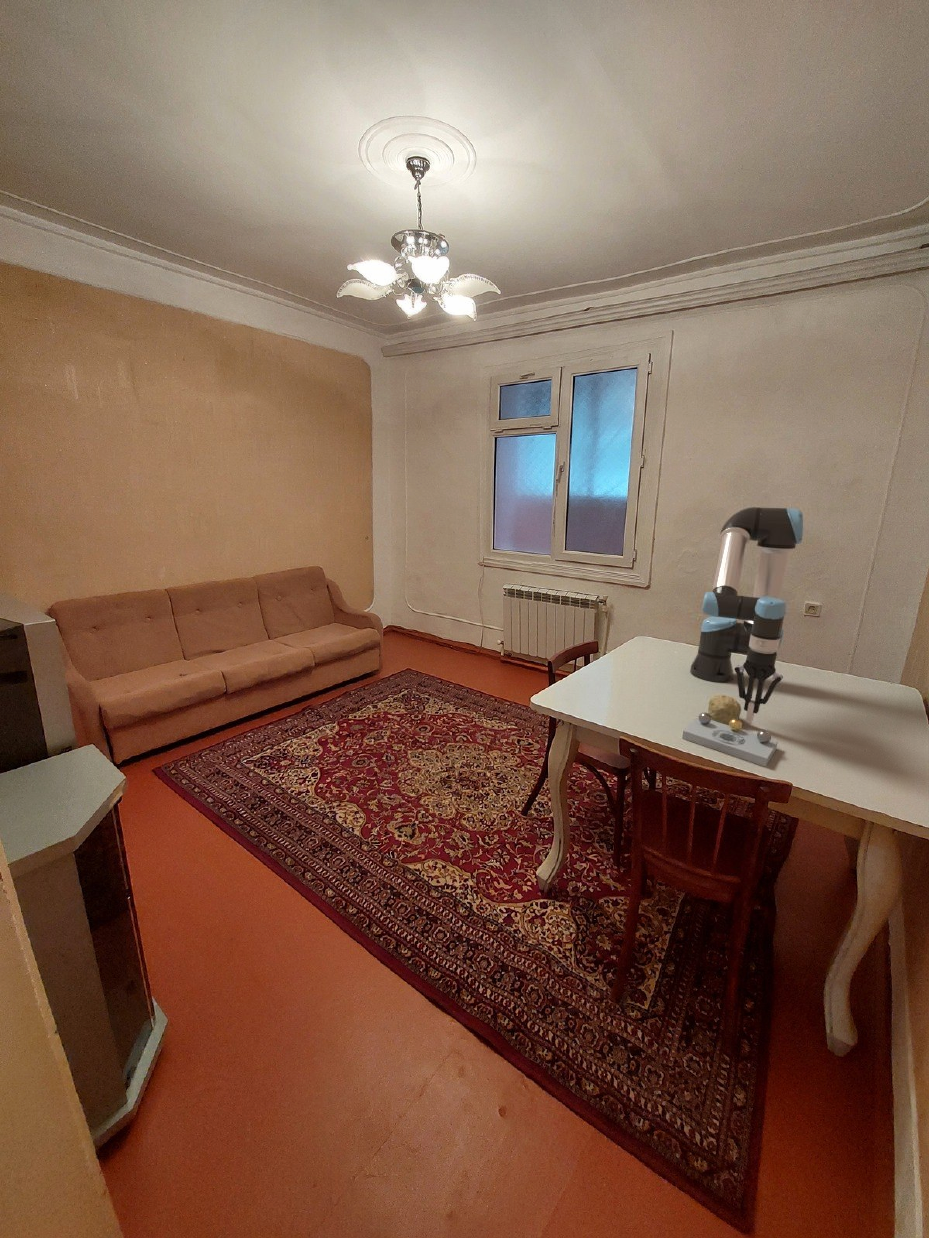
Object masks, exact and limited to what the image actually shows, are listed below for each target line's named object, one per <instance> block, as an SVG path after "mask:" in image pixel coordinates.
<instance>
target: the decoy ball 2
mask: <svg viewBox="0 0 929 1238" xmlns="http://www.w3.org/2000/svg"><path fill="white" fill-rule="evenodd" d="M756 734H757V739H758V740H759V741H760V742H762V743H768V742H769V741H770V740H771V739H772V735H771V733H770V732H769V731H767V730H760V731H758V732H757V733H756Z"/></svg>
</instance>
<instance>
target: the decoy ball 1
mask: <svg viewBox="0 0 929 1238" xmlns="http://www.w3.org/2000/svg"><path fill="white" fill-rule="evenodd" d="M698 716H699V721H700V722H701V723H702V724H709V723H710V722H711V716H710V715H709V714H708V712H700V714H698Z"/></svg>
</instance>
